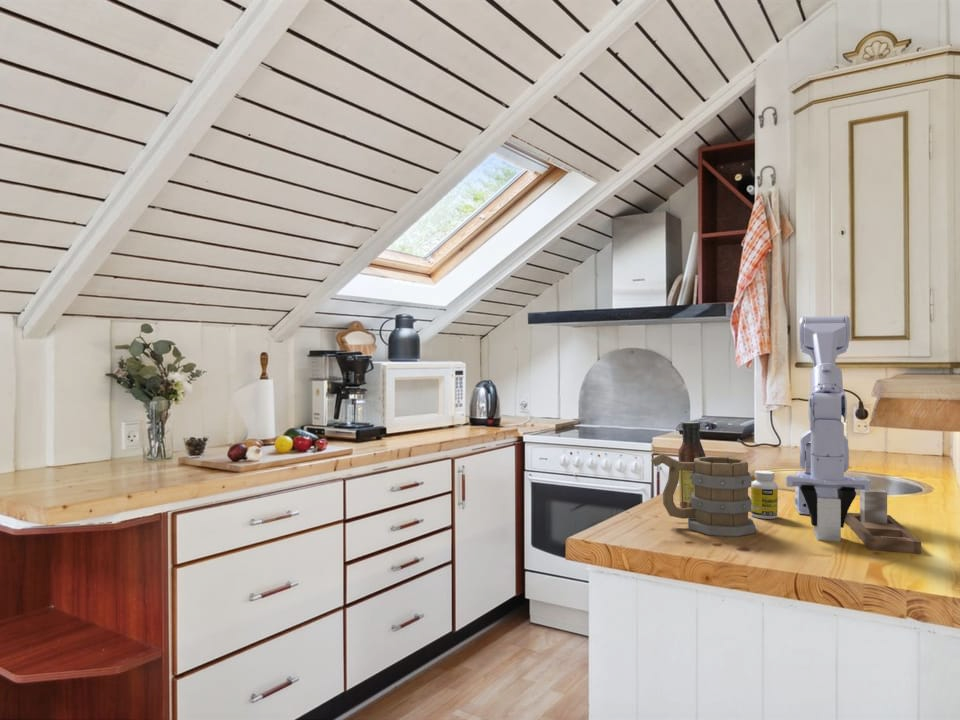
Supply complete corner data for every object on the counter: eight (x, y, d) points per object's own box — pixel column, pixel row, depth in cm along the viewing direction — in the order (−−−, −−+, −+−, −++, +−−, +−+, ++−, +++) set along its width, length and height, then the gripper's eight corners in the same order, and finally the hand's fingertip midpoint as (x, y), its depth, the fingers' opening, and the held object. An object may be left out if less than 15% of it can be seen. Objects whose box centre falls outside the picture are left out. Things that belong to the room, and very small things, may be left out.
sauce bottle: (713, 510, 159) (713, 422, 159) (690, 512, 157) (690, 423, 157) (694, 504, 165) (694, 420, 165) (672, 506, 163) (672, 421, 163)
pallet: (869, 549, 127) (869, 505, 127) (845, 522, 148) (845, 484, 148) (921, 553, 124) (921, 508, 124) (889, 524, 145) (889, 486, 145)
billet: (817, 540, 133) (817, 498, 133) (814, 534, 137) (814, 494, 137) (840, 541, 132) (840, 499, 132) (836, 536, 136) (836, 495, 136)
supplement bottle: (761, 520, 150) (761, 474, 149) (745, 514, 155) (745, 470, 155) (783, 518, 151) (783, 473, 151) (766, 513, 156) (766, 469, 156)
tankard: (750, 523, 147) (750, 451, 147) (757, 538, 135) (757, 460, 135) (652, 517, 152) (652, 448, 152) (650, 531, 140) (650, 457, 140)
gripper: (788, 456, 133) (788, 527, 133) (874, 459, 129) (874, 533, 129) (784, 451, 140) (784, 519, 140) (865, 454, 135) (865, 524, 135)
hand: (827, 525), depth 135 cm, fingers closed on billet, 4 cm apart
